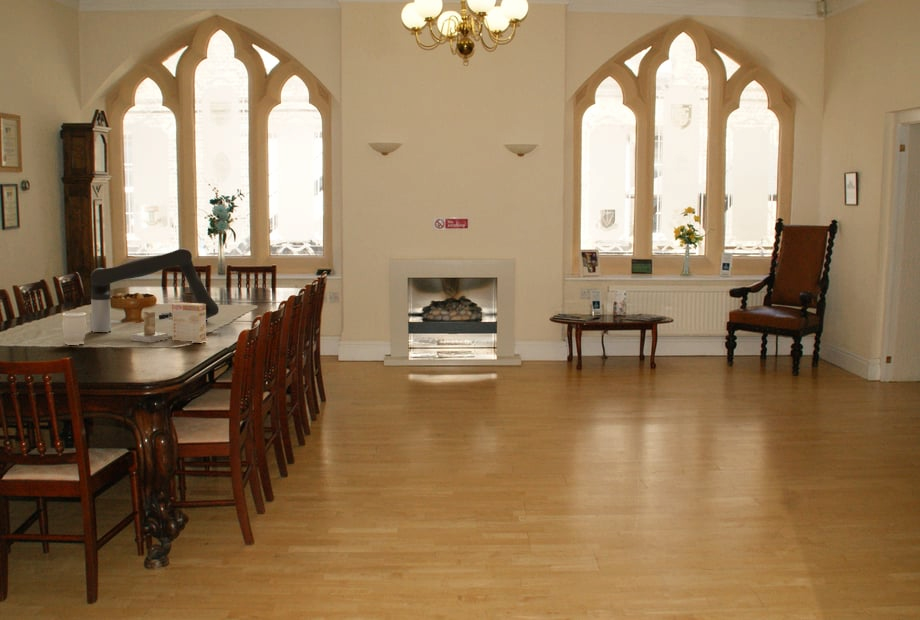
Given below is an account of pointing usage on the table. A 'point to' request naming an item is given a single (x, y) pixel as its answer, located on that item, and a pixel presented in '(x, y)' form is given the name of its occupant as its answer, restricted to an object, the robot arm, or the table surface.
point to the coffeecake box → (189, 322)
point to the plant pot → (191, 298)
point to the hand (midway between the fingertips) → (165, 318)
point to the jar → (74, 327)
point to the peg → (149, 323)
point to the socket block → (149, 337)
